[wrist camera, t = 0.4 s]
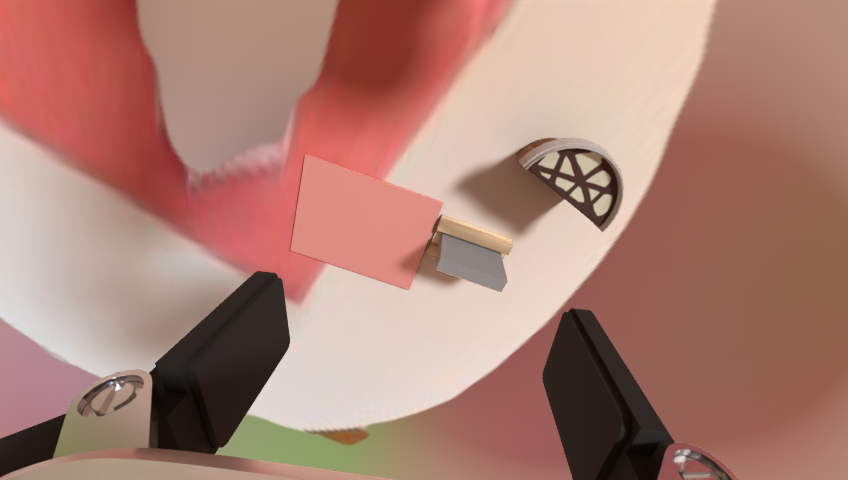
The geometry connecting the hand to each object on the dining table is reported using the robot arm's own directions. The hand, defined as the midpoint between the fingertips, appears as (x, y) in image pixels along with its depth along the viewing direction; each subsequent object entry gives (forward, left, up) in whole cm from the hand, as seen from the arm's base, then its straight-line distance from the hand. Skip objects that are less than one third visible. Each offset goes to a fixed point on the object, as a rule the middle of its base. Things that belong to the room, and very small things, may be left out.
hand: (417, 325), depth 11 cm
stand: (+13, +8, -34) cm, 38 cm away
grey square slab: (+13, +8, -34) cm, 37 cm away
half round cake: (-3, +14, -35) cm, 38 cm away
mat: (+16, -8, -34) cm, 39 cm away
